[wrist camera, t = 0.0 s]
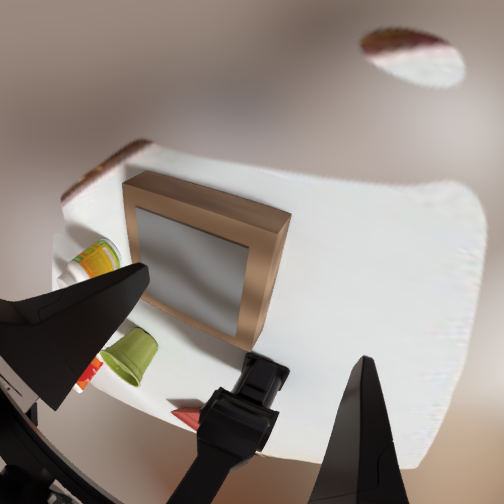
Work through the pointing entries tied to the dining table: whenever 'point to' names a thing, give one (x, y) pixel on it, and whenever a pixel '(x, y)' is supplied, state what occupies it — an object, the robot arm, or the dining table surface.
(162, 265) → the framed mirror
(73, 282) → the supplement bottle
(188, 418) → the plant saucer
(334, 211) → the dining table surface
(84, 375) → the paper cup
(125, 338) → the plant pot
